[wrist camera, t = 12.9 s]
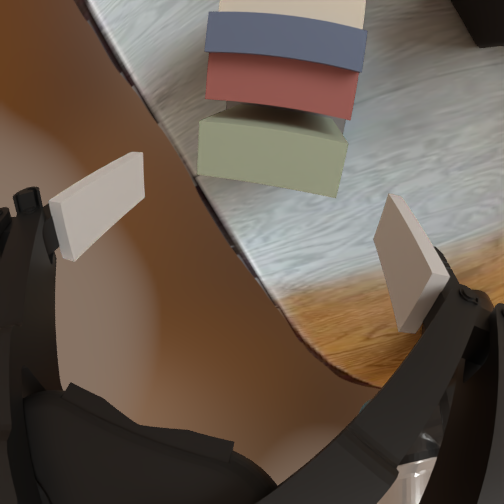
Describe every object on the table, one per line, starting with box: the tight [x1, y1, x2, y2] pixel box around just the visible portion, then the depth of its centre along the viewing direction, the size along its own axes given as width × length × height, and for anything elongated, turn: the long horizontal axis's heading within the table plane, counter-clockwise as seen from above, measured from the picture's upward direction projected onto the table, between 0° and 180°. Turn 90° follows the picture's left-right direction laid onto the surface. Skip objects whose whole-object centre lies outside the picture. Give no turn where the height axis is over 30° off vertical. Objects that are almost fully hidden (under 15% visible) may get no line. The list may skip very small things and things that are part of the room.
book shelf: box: [205, 0, 367, 135], centre depth 21 cm, size 23×13×14 cm, turn 174°
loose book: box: [197, 104, 348, 198], centre depth 24 cm, size 4×10×13 cm, turn 84°
